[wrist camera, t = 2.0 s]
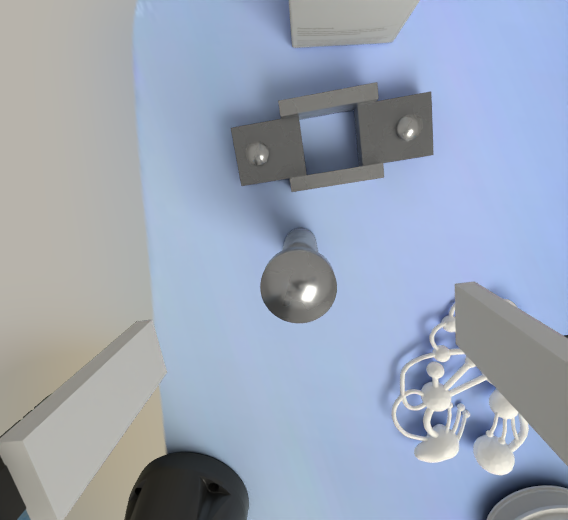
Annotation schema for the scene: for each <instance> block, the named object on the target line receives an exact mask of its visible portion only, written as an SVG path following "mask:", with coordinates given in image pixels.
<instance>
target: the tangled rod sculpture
mask: <svg viewBox="0 0 568 520" xmlns="http://www.w3.org/2000/svg"><path fill="white" fill-rule="evenodd" d="M504 300H505V301H507V302H509V303H510V304H512V305H514V306H515V307H517V306H516V305H515V304H514V303H513V302H512V301H510V300H508V299H504ZM454 310H455V303H454V304H453V306H452V307H451V309H450V311H449V316H446V317H444V318H443V319H442V322H441V323H440V324H438V325H437V326H435V327H434V328H433V329H432V331H431V333H430V336H429V337H430V343H431V345H432V347H433V348H434V349H433V352H432V353H429V354H425V355H422V356H419V357H417V358H415V359H412V360H411V361H409V362H408V363H407V364H406V365H405V366H404V367H403V368H402V370H401V374H400V393H401V395H399V397H398V398H397V399H396V400H395V402H394V404H393V407H392V419H393V422H394V424H395V426H396V427H397V429H398V430H399V431H400V432H401V433H402V434H403V435H405V436H406V437H409V438H412V439H417V440H422V442H421V443H419V444H418V445H417V446H416V447H415V449H414V454H415V456H416V457H417V458H418V459H419V460H421V461H425V462H430V463H434V462H441V461H444V460H447V459H450V458H453V457H454V456H455V455H456V454H457V453H458V451H459V440H460V438H461V436H462V433H463V430H464V427H465V423H466V418H468V417H469V416H470V413H469V411H467V410H465V406H464V405H463V404H461V403H459V404H458V405H457V408H458V410H457V415H456V419H455V423H454V426H453V428H452V430H451V429H449V427H450V423H451V416H452V414H451V408H452V407H453V404H452V402H451V397H452V396H454V395H456V394H458V393H460V392H462V391H464V390H466V389H468V388H470V387H473V386H475V385H477V384H479V383H481V382H483V381H485V380H487V381H488V382H489V383H491V382H490V381H489V380H488V379H487V377H486V376H485V375H484V374H483V373H482V375H481V376H479V377H477V378H475V379H473V380H470V381H468V382H466V383H464V384H462V385H460V386H458V387H456V388H454V389H452V390H450V391H449V390H448V389H449V388H450V387H451V386H452V385H453V384H454V383H455V382H456V381H457V380H458V379H459V378H460V377H461V376H462V375H463V374H464V373H465V372H466V371H467V370H468V369H469V368H472V367H475V366H476V365H475V364H474V363H473V362H472V361H471V360H470V359H469V358H468V357H467V356H466V358H465V364H464V365H463V366H462V367H461V368H460V369H459V370H458V371H457V372H456V373H455V374H454V375H453V376H452V377H451V378H450V379H449V380H448V381H447V382H446V383H445V384H444V385H443V384H441V383H439V382H438V379H439V378H441V377H442V376H443V375H444V368H443V366H442V365H441V364H440V363H438V362H431V363H429V364H428V365H427V368H426V370H427V373H428V375H429V376H431V377H432V382H428V383H426V384H425V385H424V386H423V387H422V390H421V391H420V390H416V389H410V390H407V391H405V381H404V378H405V373H406V371H407V370H408V369H409V367H411V366H412V365H413V364H415V363H417V362H419V361H421V360H424V359H428V358H432V357H434V358H435V359H436V360H437V361H440V362H446V361H447V360H449V358H450V356H451V355H458V354H465V353H464V352H463V351H462V350H461V349H460V348H459V349H448V348H447V347H445V346H443V345H438V346H437V345H436V343H435V342H434V335H435V333H436V332H437V331H438V330H439V329H440V328H442V327H443V329H445V330H446V331H448V332H456V329H455V317H454V316H453V314H454ZM491 384H492V383H491ZM492 385H493V384H492ZM409 394H418V395H420V396H421V399H422V401H423V403H421V404H420V405H418V406H411V405H409V404H408V402H407V400H406V396H407V395H409ZM401 401H403V404H404V405H405V407H406V408H408V409H409V410H415V411H416V410H421V409H423V408H425V407H426V406H427V409H426V411H425V413H424V417H423V424H424V428H425V430H426V431H427V432H428V434H427V436H426V437H424V436H419V435H414V434H410V433H408V432H407V431H405V430H404V429H403V428H402V427H401V426H400V425H399V423H398V421H397V418H396V409H397V406H398V405H399V403H400V402H401ZM489 405H490V408H491V410H492V411H493V412H494V413H495V417H494V422H493V426H492V428H491V429H490V430H487V431H486V435H483V436H480V437H479V438H477V439H476V441H475V443H474V446H473V453H474V456H475V458H476V460H477V462H478V463H479V465H480V466H481V467H482V468H483V469H485V470H486V471H488V472H489V473H492V474H495V475H504V474H507V473H509V472H510V471H511V470H512V468H513V466H514V464H515V461H514V455H513V452H514V451H515V450H516V449H518V447H519V446H520V445H521V444H522V443H523V442H524V441H525V439H526V437H527V434H528V430H529V428H528V422H527V421H526V420H525V419H524V418H523V417H522V416H521V415H520V414H519V412H518V411H517V410H516V409H515V408H514V407H513V406H512V405H511V404H510V403H509V402H508V400H507V399H506V398H505V397H504V396H503V395H502V394H501V393H500V392H499V391H498V390H497V388H496V389H495V390H494V392H493V393H492V394H491V395H490V397H489ZM445 409H447V410H448V417H447V423H446V426H444V425H442V424H437V425H435V426H434V427H433V428H432V427H431V424H430V420H431V417H432V414H433V412H434V411H443V410H445ZM464 410H465V411H464ZM461 411H463V412H462V414H463V417H462V422H461V426H460V430H459V432H458V434H457V436H456V434H455V432H456V430H457V427H458V423H459V420H460V416H461ZM517 414H518V416H519V421H520V431H519V433H518V435H517V432H516V429H515V417H516V416H517ZM498 417H501V418H503V432H502V436H501V437H499V438H498V437H497V436H493V432H494V430H495V428H496V426H497V421H498ZM507 419H511V425H512V431H513V435H514V437H515V438H514V440H513V441H512V442H511V443H510V444H508V445H507V444H506V442H505V436H506V432H507Z"/></svg>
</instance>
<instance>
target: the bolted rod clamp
mask: <svg viewBox="0 0 568 520" xmlns="http://www.w3.org/2000/svg"><path fill="white" fill-rule="evenodd" d="M377 100H378V86H377V82H376V83H371V84H365V85H360V86H355V87H349V88H344V89H339V90H333V91H328V92H323V93H317V94H312V95H307V96H301V97H296V98H291V99H285V100H280V101H278V103H279V109H280V116H281V119H277V120H272V121H266V122H261V123H255V124H250V125H244V126H239V127H233V128H231V132H232V137H233V143H234V148H235V154H236V159H237V164H238V170H239V175H240V181H241V186H245V185H252V184H258V183H264V182H270V181H276V180H282V179H289V178H290V184H291V191H292V192H295V191H301V190H308V189H314V188H320V187H327V186H333V185H339V184H346V183H352V182H358V181H365V180H371V179H377V178H384V168H383V163H387V162H393V161H400V160H406V159H412V158H418V157H424V156H430V155H433V129H432V100H431V92H426V93H420V94H415V95H409V96H404V97H398V98H393V99H387V100H382V101H377ZM351 110H354V118H355V129H356V140H357V151H358V162H359V167H355V168H349V169H342V170H336V171H330V172H324V173H318V174H312V175H306V167H305V160H304V152H303V145H302V137H301V130H300V122H299V120H301V119H307V118H312V117H318V116H323V115H329V114H334V113H340V112H346V111H351Z"/></svg>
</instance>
